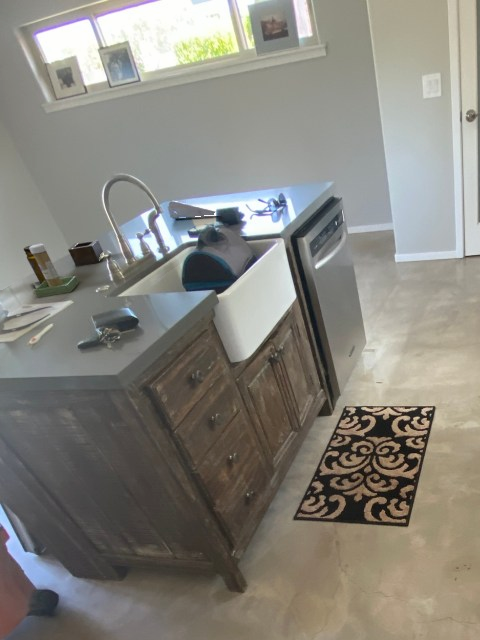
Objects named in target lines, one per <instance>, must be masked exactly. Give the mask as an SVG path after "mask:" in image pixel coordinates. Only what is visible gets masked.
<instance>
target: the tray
mask: <svg viewBox="0 0 480 640" xmlns="http://www.w3.org/2000/svg"><path fill="white" fill-rule="evenodd" d="M60 279H61V281H62V283H63V284H64V285H62V286H56V287H50V286H49V284H48V282H47V281H44V282H43V283H42V284H40V285H39V286H38V287H37V288H36V287H35V289H34V290H33V292H34V294H35V295H36V297H37V298H44V297H48V296H55V295H60V294H66V293H67V294H68V293H71V292H72V291H74V289H75V288H76V287H77V286H78V285H79V283H80V281H79V279H78V277H77V275H71V276H66V277H60Z"/></svg>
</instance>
